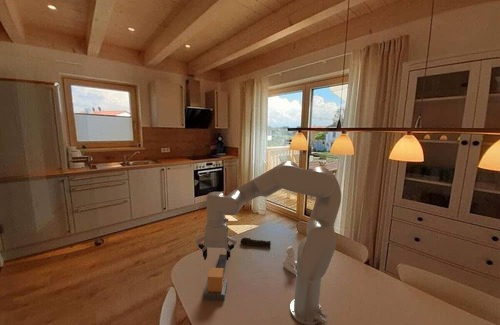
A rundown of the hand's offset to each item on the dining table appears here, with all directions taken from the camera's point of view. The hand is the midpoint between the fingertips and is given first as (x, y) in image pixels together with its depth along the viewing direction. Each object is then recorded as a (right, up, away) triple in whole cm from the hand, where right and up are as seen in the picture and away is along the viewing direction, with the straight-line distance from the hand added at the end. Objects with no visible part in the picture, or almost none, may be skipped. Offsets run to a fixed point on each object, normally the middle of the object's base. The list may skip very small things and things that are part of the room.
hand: (216, 258), depth 92 cm
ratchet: (-1, -15, +13) cm, 20 cm away
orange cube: (-1, -14, +3) cm, 14 cm away
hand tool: (+18, -11, +41) cm, 46 cm away
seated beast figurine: (+36, -15, +21) cm, 44 cm away
